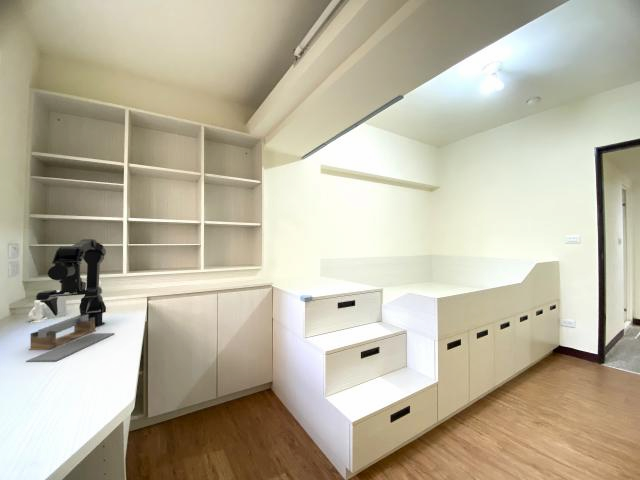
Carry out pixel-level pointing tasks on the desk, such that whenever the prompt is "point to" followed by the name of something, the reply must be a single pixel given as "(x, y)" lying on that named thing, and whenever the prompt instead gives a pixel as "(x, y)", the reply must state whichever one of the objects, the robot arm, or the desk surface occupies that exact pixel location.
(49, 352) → the mat
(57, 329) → the rail
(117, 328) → the desk surface
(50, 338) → the standards
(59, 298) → the skincare box
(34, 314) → the koala figurine
